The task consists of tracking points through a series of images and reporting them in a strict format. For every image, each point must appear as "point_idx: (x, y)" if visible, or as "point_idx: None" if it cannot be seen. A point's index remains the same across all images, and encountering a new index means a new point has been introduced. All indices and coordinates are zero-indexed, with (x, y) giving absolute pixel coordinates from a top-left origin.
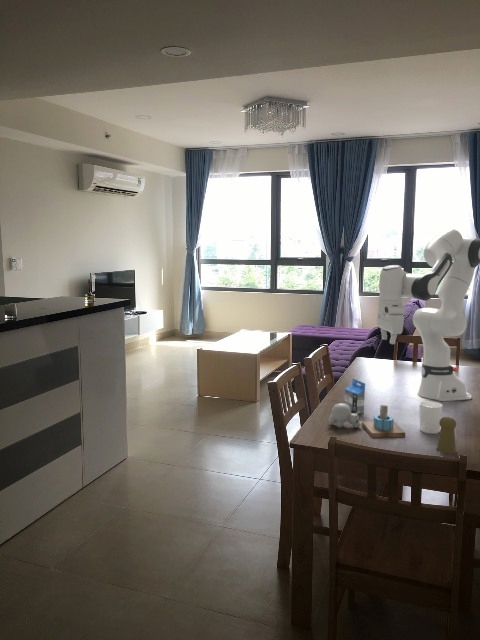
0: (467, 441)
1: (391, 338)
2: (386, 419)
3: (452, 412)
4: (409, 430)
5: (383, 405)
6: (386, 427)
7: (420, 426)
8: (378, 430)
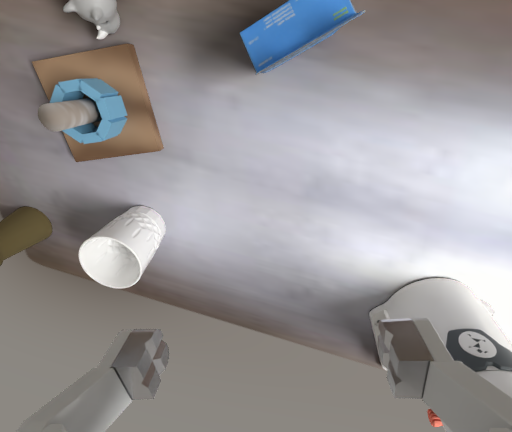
0: None
1: (75, 384)
2: None
3: (284, 304)
4: (132, 180)
5: (54, 116)
6: None
7: (133, 209)
8: None
